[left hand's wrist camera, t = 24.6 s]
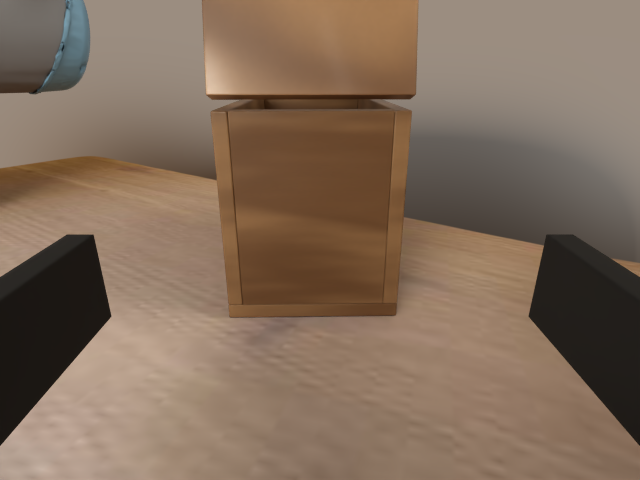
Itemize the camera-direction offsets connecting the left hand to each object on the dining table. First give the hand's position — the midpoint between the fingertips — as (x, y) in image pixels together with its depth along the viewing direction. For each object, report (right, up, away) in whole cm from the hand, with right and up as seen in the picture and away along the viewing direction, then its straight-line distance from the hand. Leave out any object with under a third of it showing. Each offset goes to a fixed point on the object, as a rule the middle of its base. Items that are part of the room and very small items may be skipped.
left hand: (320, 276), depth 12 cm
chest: (-1, 0, +18) cm, 18 cm away
